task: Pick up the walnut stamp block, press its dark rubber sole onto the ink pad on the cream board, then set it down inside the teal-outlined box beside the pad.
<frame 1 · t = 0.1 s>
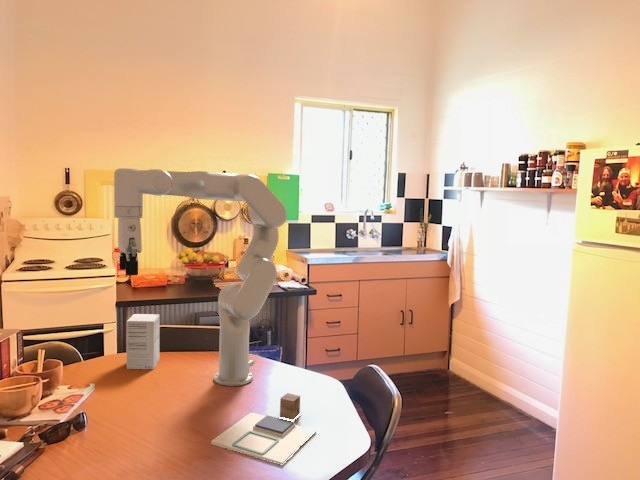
hand: (128, 272, 144), 37 cm above the table, tool pointing down, fingers open, 9 cm apart
stamp: (289, 417, 139), on the table
supplement box: (143, 365, 174), on the table
board: (265, 438, 127), on the table
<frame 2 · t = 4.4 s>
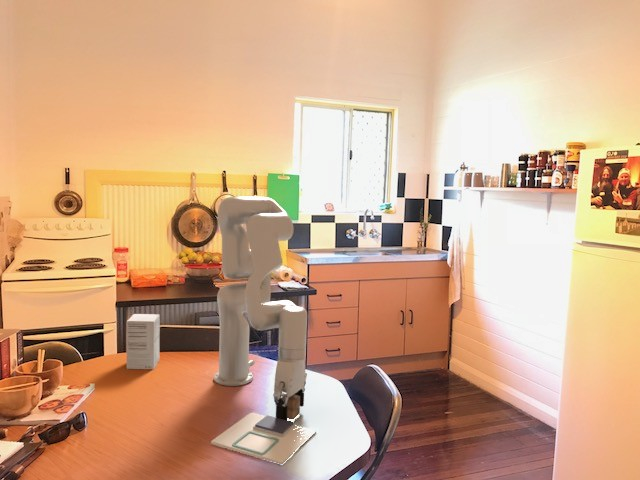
hand: (290, 412, 139), 2 cm above the table, tool pointing down, fingers open, 9 cm apart
nothing on the table moved.
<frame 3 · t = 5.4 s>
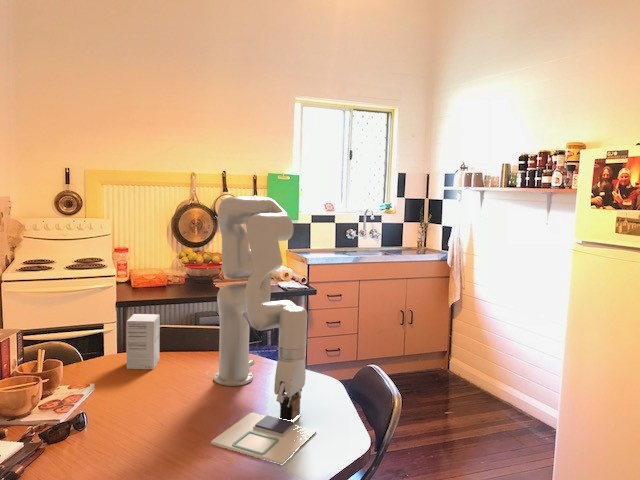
hand: (290, 415, 139), 1 cm above the table, tool pointing down, fingers closed on stamp, 4 cm apart
stamp: (289, 418, 139), on the table, touching gripper
everything else where it was.
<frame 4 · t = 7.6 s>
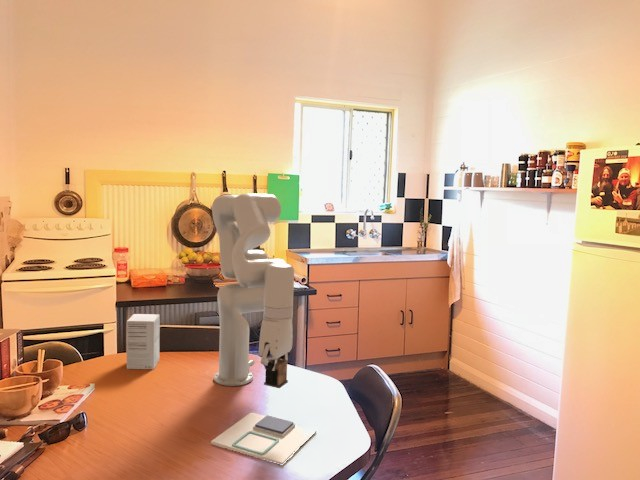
hand: (276, 380, 130), 14 cm above the table, tool pointing down, fingers closed on stamp, 4 cm apart
stamp: (275, 383, 130), point 13 cm above the table, touching gripper
everything else where it was.
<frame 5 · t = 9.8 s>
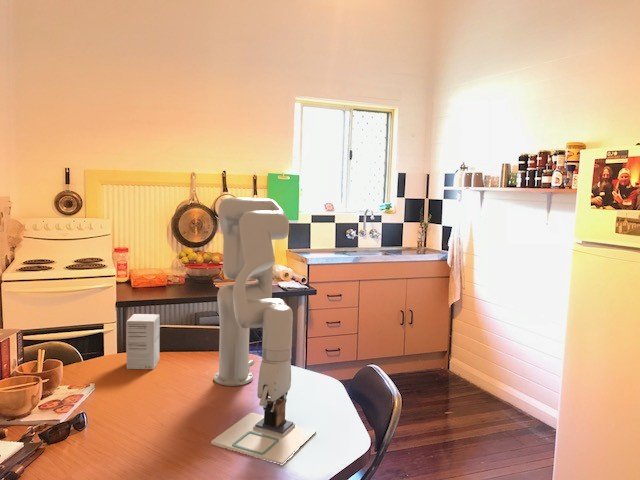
hand: (274, 420, 131), 3 cm above the table, tool pointing down, fingers closed on stamp, 4 cm apart
stamp: (274, 423, 131), point 2 cm above the table, touching board, gripper
everything else where it was.
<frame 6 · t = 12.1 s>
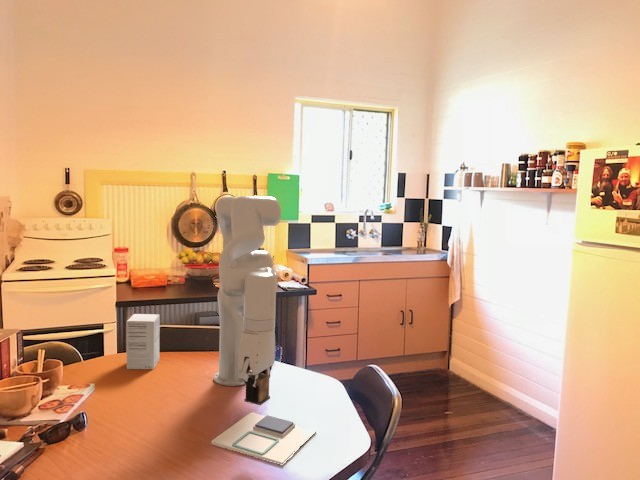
hand: (257, 396, 122), 13 cm above the table, tool pointing down, fingers closed on stamp, 4 cm apart
stamp: (257, 399, 122), point 12 cm above the table, touching gripper
everything else where it was.
when the fingers open (2 cm above the table, at t = 14.2 s): stamp stays where it is, resting on board.
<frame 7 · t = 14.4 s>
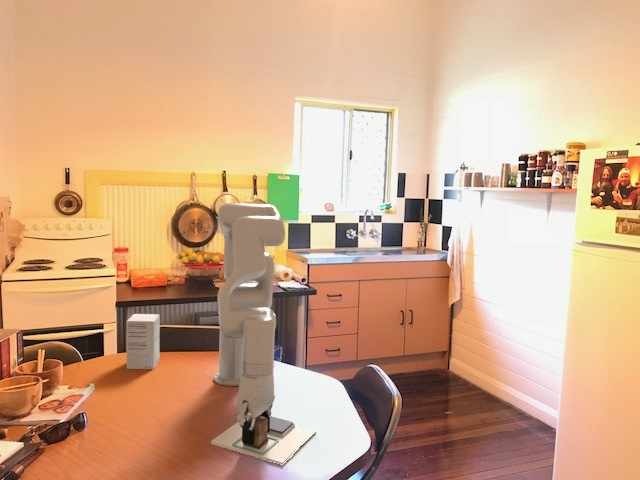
hand: (256, 436, 123), 2 cm above the table, tool pointing down, fingers open, 6 cm apart
stamp: (255, 442, 123), point 1 cm above the table, touching board
everything else where it was.
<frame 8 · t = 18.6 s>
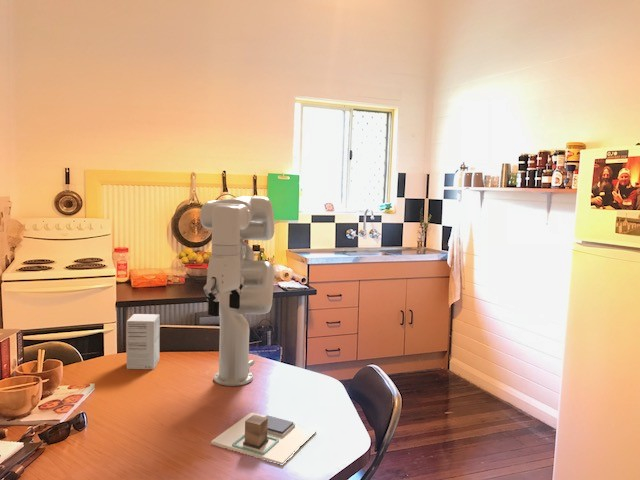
hand: (224, 311, 139), 28 cm above the table, tool pointing down, fingers open, 9 cm apart
nothing on the table moved.
at the end: stamp inside the target area on the board (0.1 cm from its centre), point 0.8 cm above the board's base; the gripper is holding nothing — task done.
